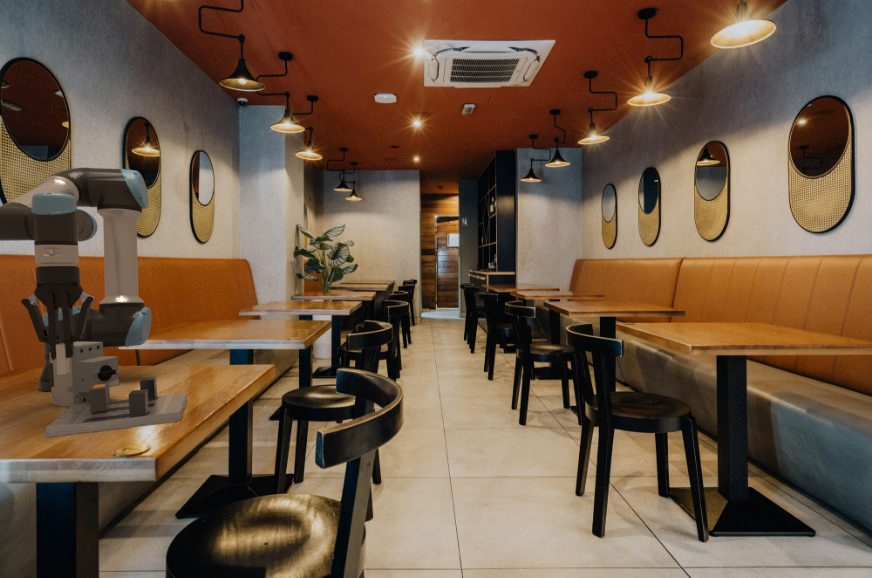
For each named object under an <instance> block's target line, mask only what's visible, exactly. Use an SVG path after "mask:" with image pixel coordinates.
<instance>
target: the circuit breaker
mask: <svg viewBox="0 0 872 578" xmlns="http://www.w3.org/2000/svg"><path fill="white" fill-rule="evenodd" d="M118 358H119V357H118V356H115V355H114V356H110V355H109V356H106V355H105V356H104V348H103V342H74V356H73V357H72V358H69V372H68V373H67V374H60V375H57V359H54V360H52V358H51V352H50V363H53V373H54V387H51V391H50V392H51V400H53V403H52V404H51V405H52V406H57V407H59V406H60V407H71V406H72V405H78V404H87V403H90V394H89V390H90V389H91V388H92V387H93V386H95V385H100V384H106V385H109V389H110V388H113V387H117V386H119V385H120V379H119V378H120V376H119V359H118Z"/></svg>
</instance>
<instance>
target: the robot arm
mask: <svg viewBox="0 0 872 578" xmlns="http://www.w3.org/2000/svg"><path fill="white" fill-rule="evenodd" d="M147 189H148V188H147V186H146V182H145V180H144V177H143V176H142V174H141V173H140V172H139V171H138V170H133V169H125V168H103V167H102V168H100V167H98V168H97V167H94V168H93V167H76V168H75V167H74V168H70V169H69V168H68V169H65V170H62V171H58V172H55V173H52V174H50V175H48V176H45V177H44V178H43V179H42V180H41V181H39V183H38V186H36V187H34V188H32V189H30V190H29V191H26V192H25V193H23V194H21V195H19V196H17V197H16V198H13V199H12V200H10V201H8V202H6V203H4V204H2V205H0V241H2V242H3V241H9V242H10V241H15V242H16V241H19V242H20V241H33V244H34V245H33V247H34V261H35V264H36V265H38V266H37V267H36V268H35V281H36V282H35V284H36V287H35V289H34V291H33V294H31V295H30V296H28V297H27V298H22V299H21V300H20V303H21V304H22V305H23V306H24V307H25V309H26V310H27V313H28V314H29V317H30V320H31V323H32V326H33V328H34V331H35V334H36V336H37V340H38V341H39V343H43V351H44V352H43V353H44V363H43V367H42V369H41V373H40V375H39V379H38V382H37V385H38V390H39V391H41V392H52V391H51V387H54V373H53V363H50V352H51V358H52V360H54V359H57V375H60V374H67V373H68V372H69V358H72V357H73V356H74V342H103V349H106V348H123V347H126V348H129V347H135V346H141V345H143V344H145V343H146V342H147V340H148V338H149V335H150V332H151V327H152V310H151V308H150V307H147V306H145V301H144V300H143V299H142V298H141V297H140V296H139V269H138V268H139V266H138V265H139V262H138V223H137V222H138V221H137V220H138V219H139V218H140V217H142V216H143V210H145V209H147V208H148V207H149V193H148V190H147ZM78 207H81V208H83V207H84V208H85V207H86V208H96V213H97V214H99V216H101V218H102V219H103V223H102V224H103V257H104V258H103V261H104V262H103V265H104V266H103V267H104V298H103V299H102V300H101V301H99V302H98V308H97V309H93V306H92V305H93V304H94V302H95V301H96V296H94V295H89V294H88V293H85V292H84V289H83V287H82V285H81V274H80V273H81V271H80V267H79V266H77V264H78V265H79V263H80V253H79V242H86V241H89V240H91V239H92V238H94V236H95V235H96V234H97V232H98V227H99V226H98V221H97V220H96V218H95V217H94V216H93V215H92V214H90V213H88V212H87V211H85V210H82V209H79V208H78ZM79 299H80V302H81V304H82V305H78V306H75V305H76V303H77V301H79ZM39 301H40V303H42V304H43V306H44V307H46V311H45V313H44V314H43V316H42V314H41V311H40V308H39V306H38V305H39Z"/></svg>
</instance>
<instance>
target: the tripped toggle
mask: <svg viewBox="0 0 872 578" xmlns="http://www.w3.org/2000/svg"><path fill="white" fill-rule="evenodd" d="M110 393H111V392H110V388H109V385H106V384H100V385H95V386H93V387H92V388H91V389H90V390H89V394H90V412H98V411H107V409H108V408H109V407H110V401H111V398H110V397H111V395H110Z"/></svg>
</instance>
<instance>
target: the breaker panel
mask: <svg viewBox="0 0 872 578" xmlns="http://www.w3.org/2000/svg"><path fill="white" fill-rule="evenodd" d="M157 387H158V383H157V376H148V377H146V376H145V377H141V378H140V380H139V388H140V389H137V390H131V391H130V392H129V393H128V398H127V399H125V398H124V399H118V400H110V407H109V408H108V409H107V411H98V412H90V403H87V404H78V405H72V406H69V408H67V409H66V410H65V411H64V412H63V413H61V414H60V415H59V416H57V418H55V419H54V420H53V421H52V422H50V424H48V425H47V426H46V427H45V438H54V437H60V436H61V437H62V436H69V435H77V434H78V435H79V434H86V433H94V432H103V431H109V430H110V431H111V430H116V429H117V430H118V429H126V428H135V427H141V426H142V427H144V426H150V425H157V424H159V425H160V424H167V423H174V422H180V421H181V418H182V416H183V413H184V410H185V407H186V404H187V402H188V401H187V400H188V399H187V392H184V393H183V392H182V393H175V394H174V393H173V394H166V395H164V394H163V395H158V388H157Z"/></svg>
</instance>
